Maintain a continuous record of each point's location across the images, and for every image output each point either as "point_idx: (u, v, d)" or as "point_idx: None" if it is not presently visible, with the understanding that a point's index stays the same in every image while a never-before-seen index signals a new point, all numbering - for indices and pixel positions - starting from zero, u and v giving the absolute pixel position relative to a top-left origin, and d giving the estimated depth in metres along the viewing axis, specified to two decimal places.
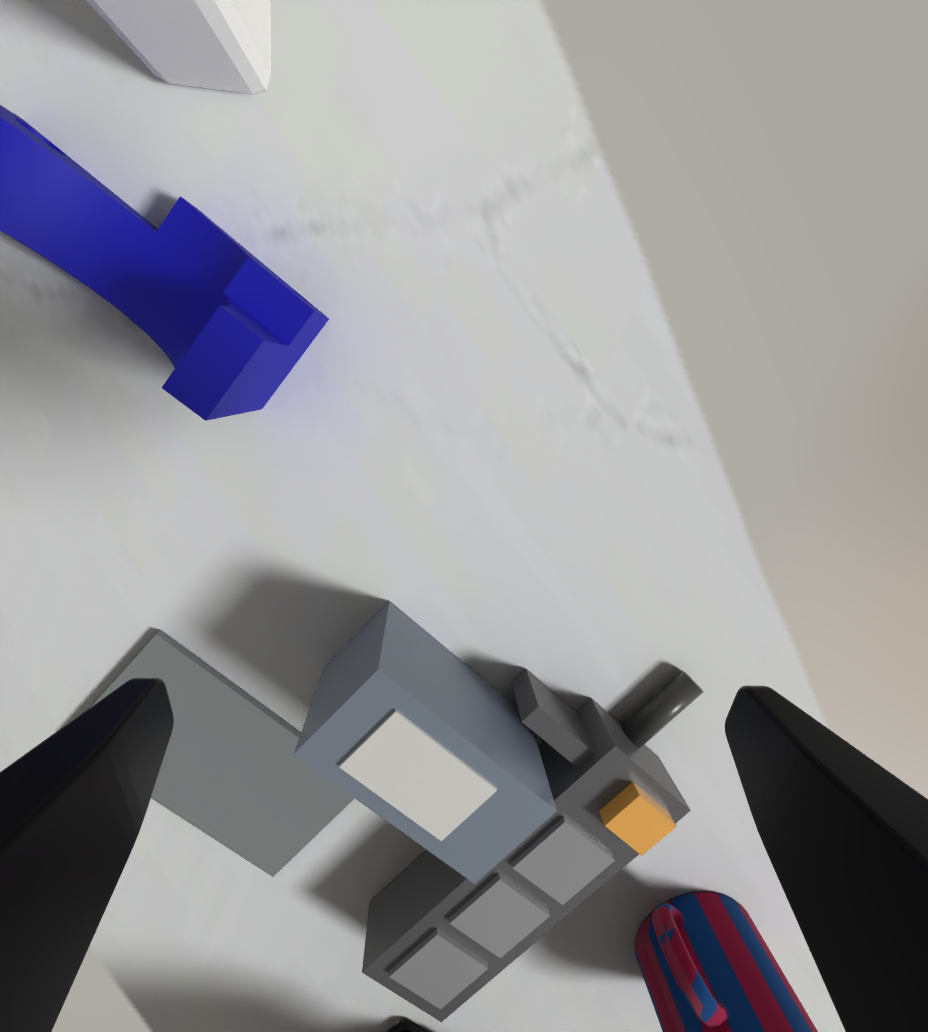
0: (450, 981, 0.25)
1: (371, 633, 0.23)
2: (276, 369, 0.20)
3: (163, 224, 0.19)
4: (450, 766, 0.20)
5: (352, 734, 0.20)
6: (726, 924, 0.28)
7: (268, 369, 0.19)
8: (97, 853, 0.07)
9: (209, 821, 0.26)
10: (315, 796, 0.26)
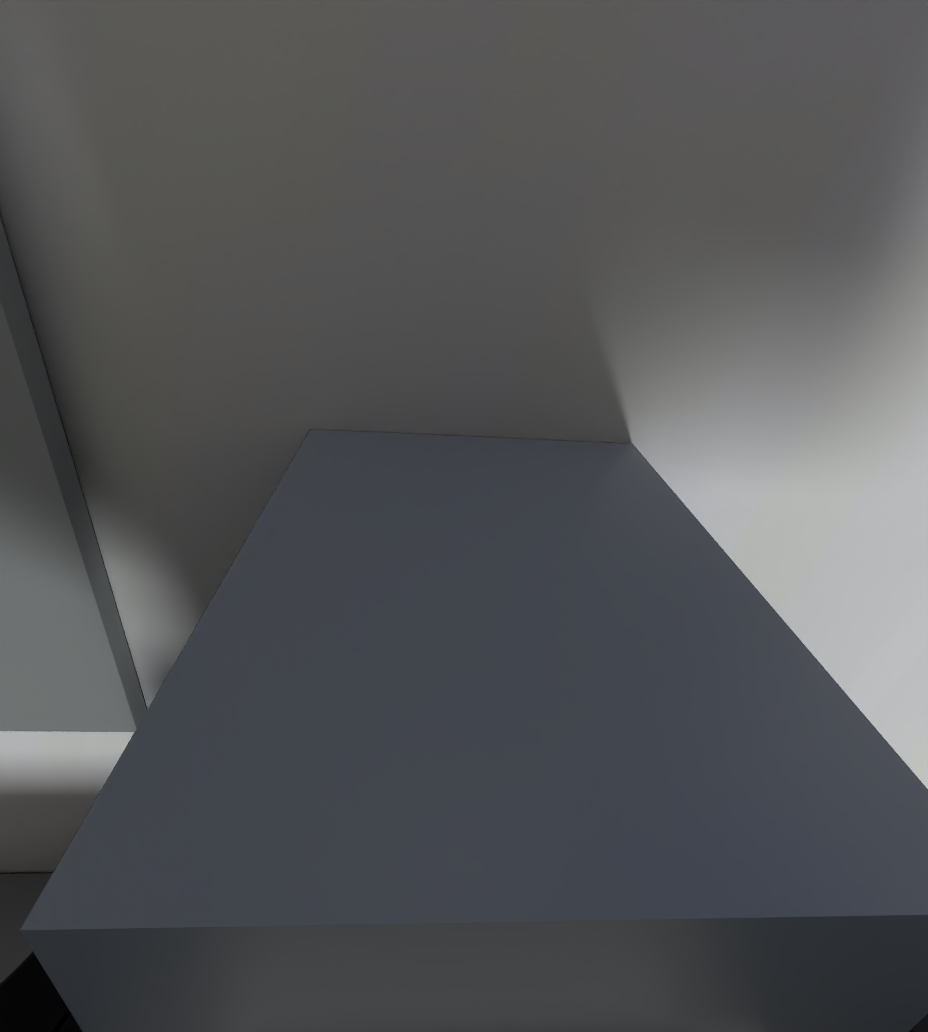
0: None
1: (601, 501, 0.06)
2: None
3: None
4: None
5: (481, 1021, 0.03)
6: None
7: None
8: None
9: None
10: None
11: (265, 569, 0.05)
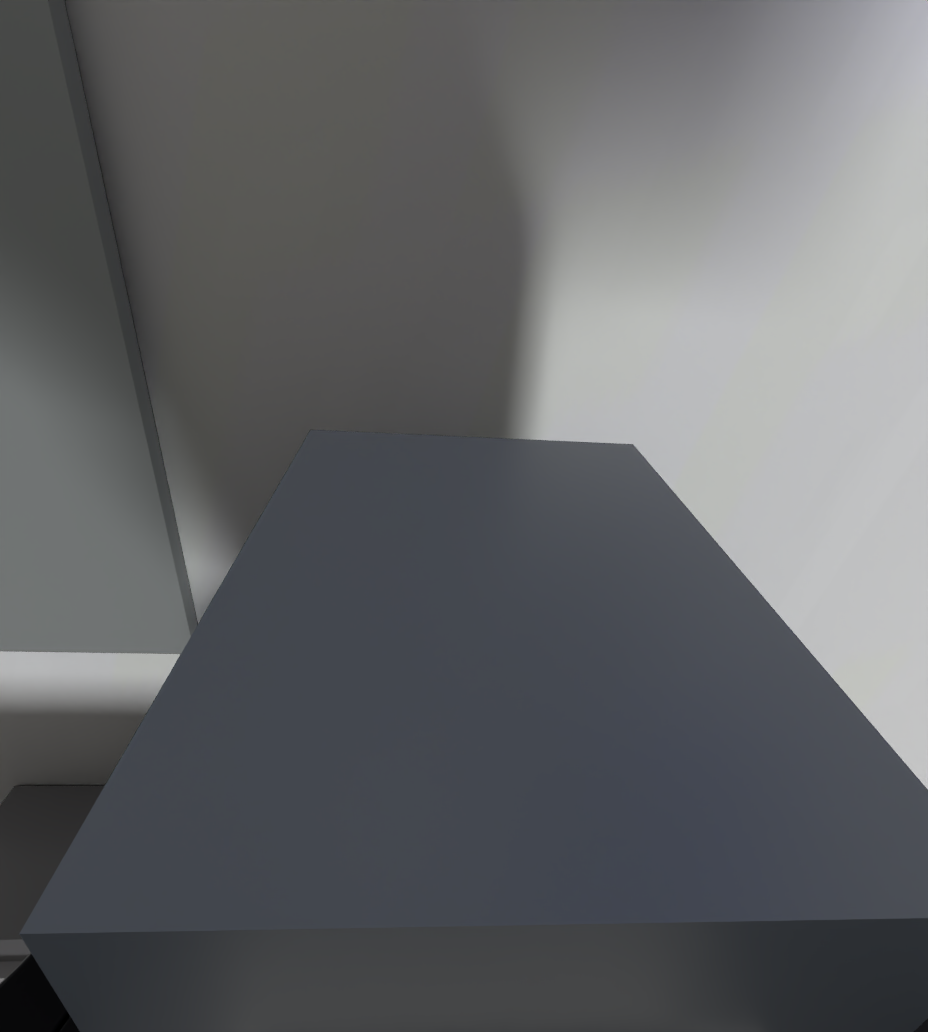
0: None
1: (601, 502, 0.06)
2: None
3: None
4: None
5: (481, 1025, 0.03)
6: None
7: None
8: None
9: None
10: (80, 596, 0.11)
11: (265, 570, 0.05)
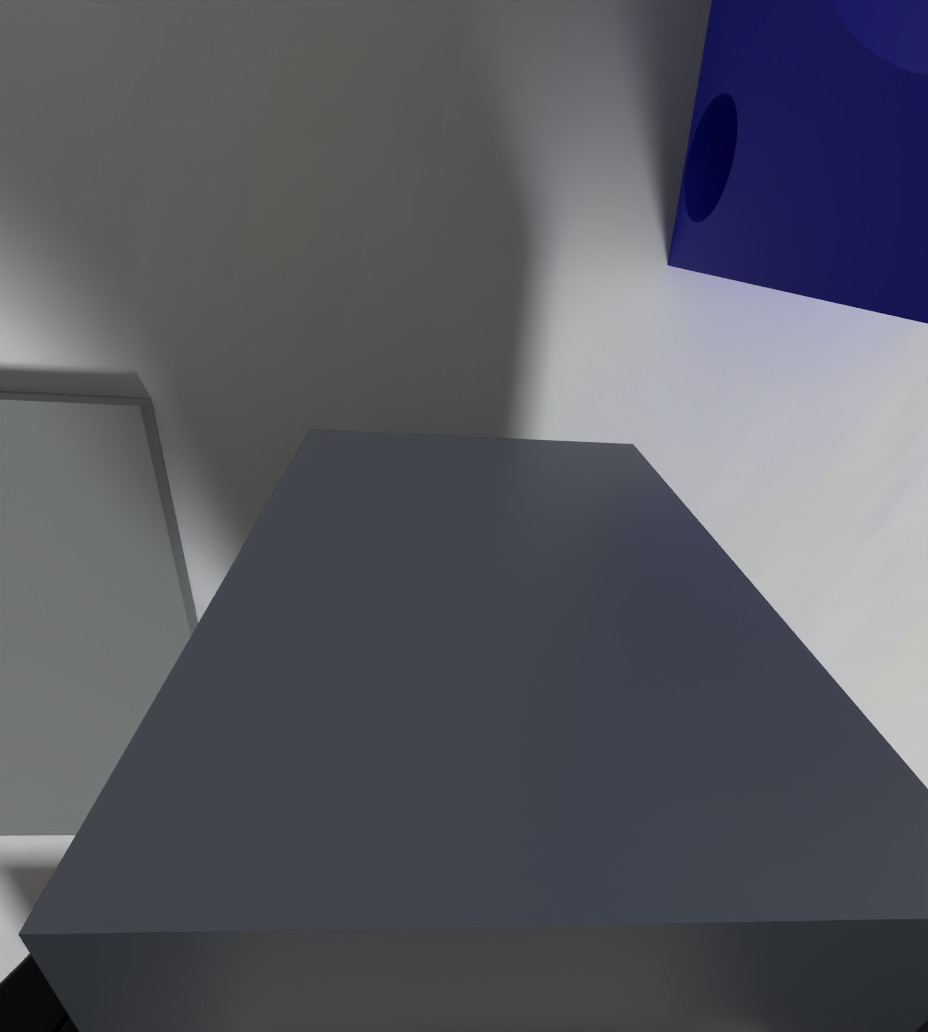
0: None
1: (602, 502, 0.06)
2: None
3: None
4: None
5: (483, 1027, 0.03)
6: None
7: None
8: None
9: None
10: None
11: (265, 570, 0.05)
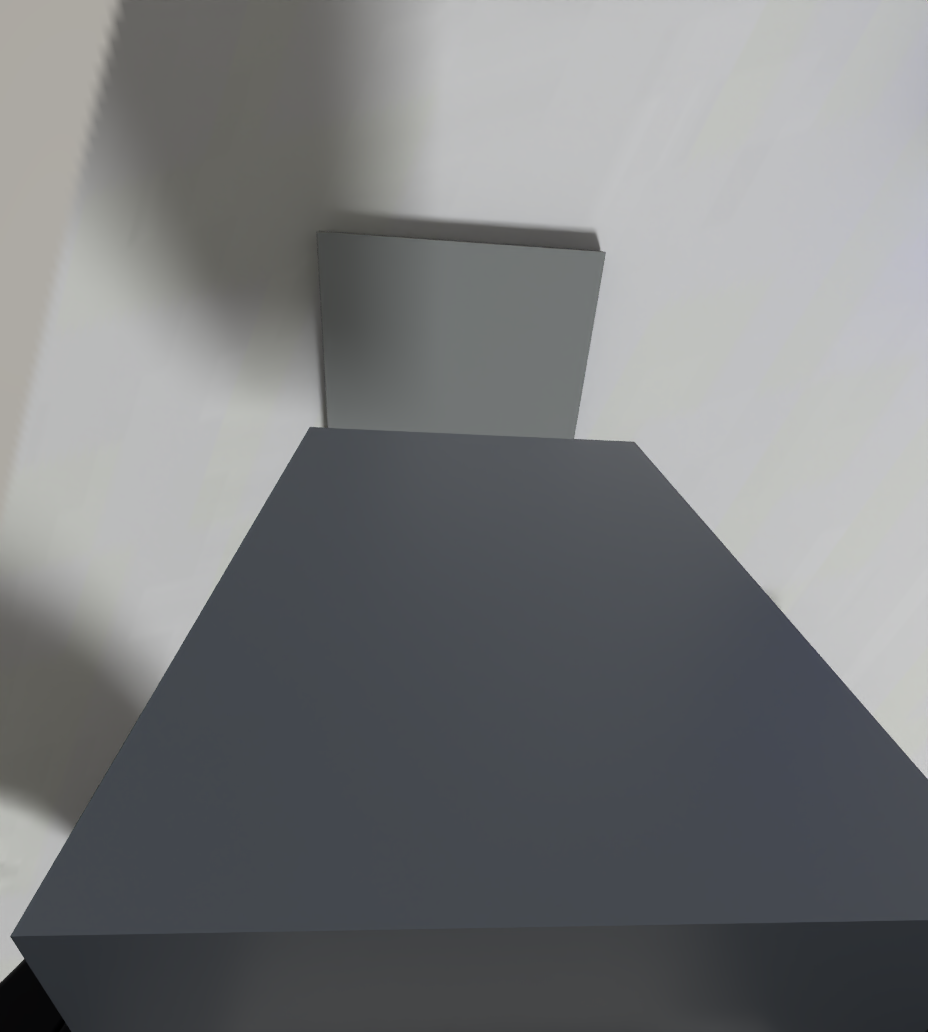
0: None
1: (603, 499, 0.06)
2: None
3: None
4: None
5: (483, 1030, 0.03)
6: None
7: None
8: None
9: None
10: None
11: (264, 567, 0.05)
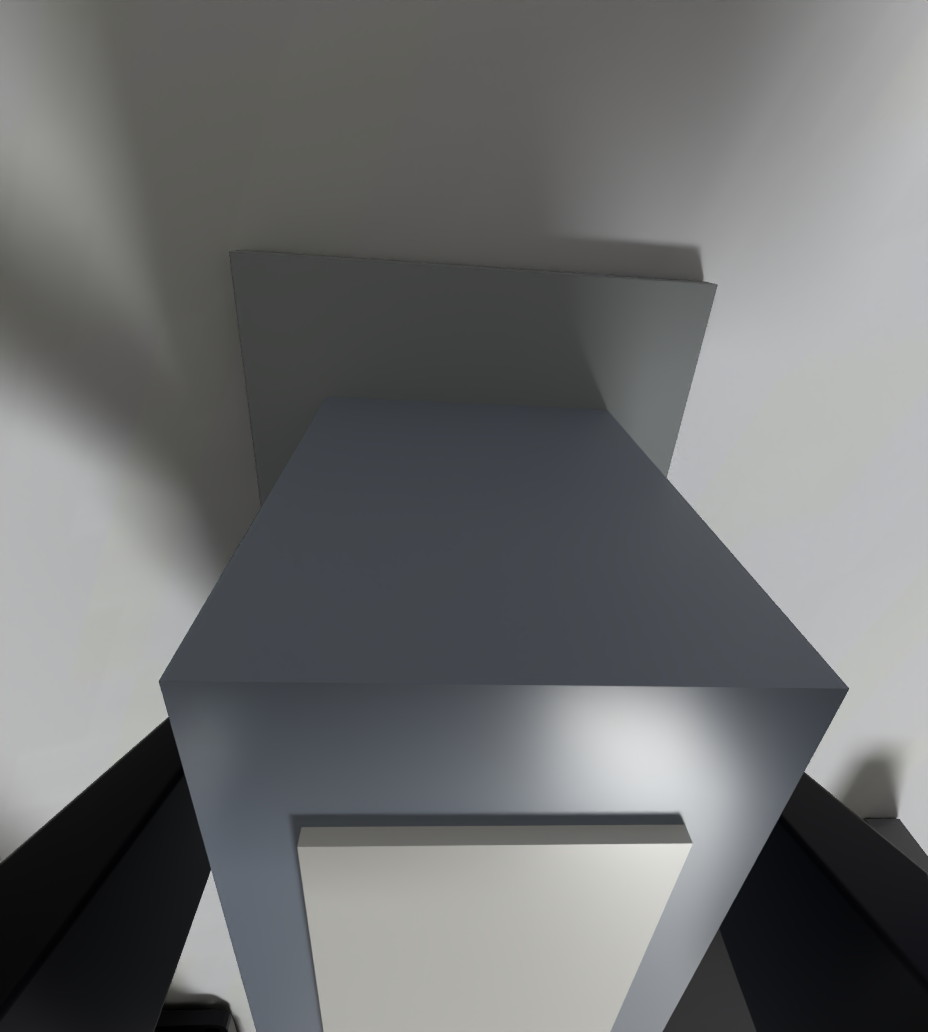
0: None
1: (574, 451, 0.07)
2: None
3: None
4: (583, 1016, 0.06)
5: (468, 785, 0.04)
6: None
7: None
8: (193, 852, 0.07)
9: None
10: None
11: (299, 493, 0.06)
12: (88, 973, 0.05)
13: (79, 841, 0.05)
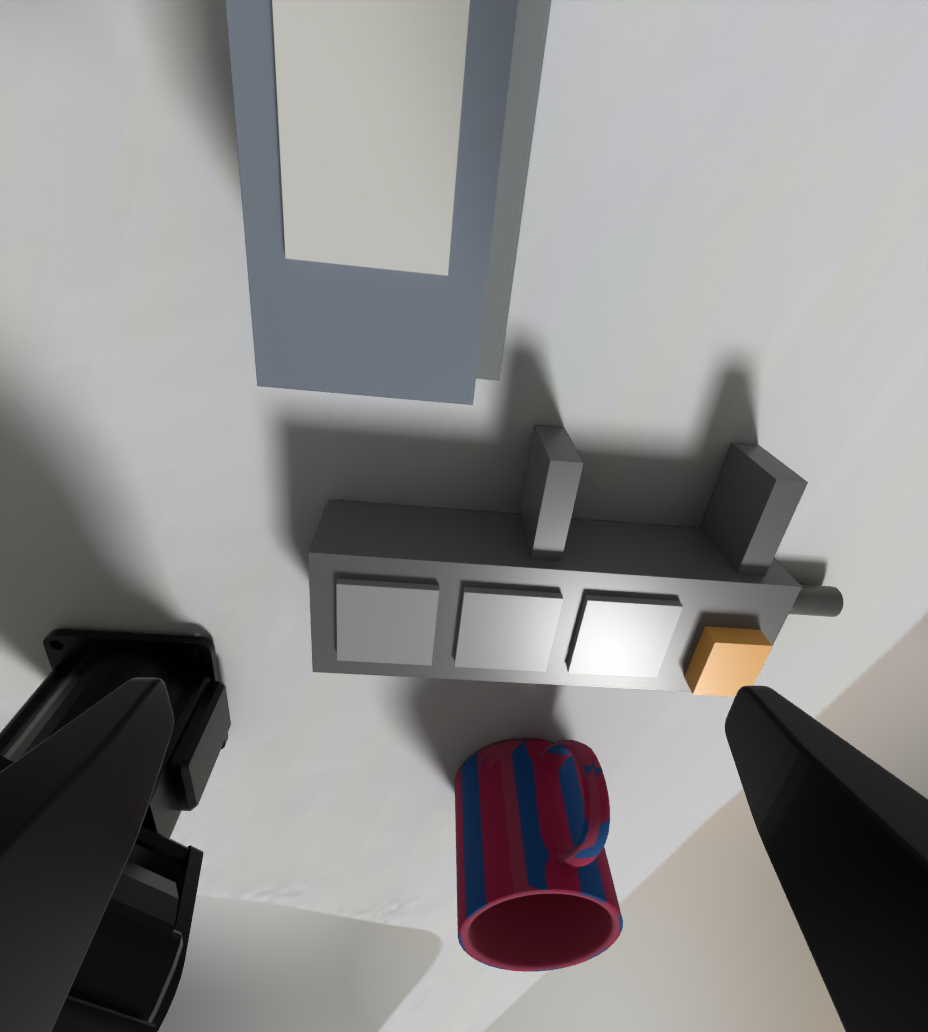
0: (384, 644, 0.18)
1: None
2: None
3: None
4: (436, 145, 0.09)
5: None
6: None
7: None
8: (97, 853, 0.07)
9: None
10: None
11: None
12: None
13: None
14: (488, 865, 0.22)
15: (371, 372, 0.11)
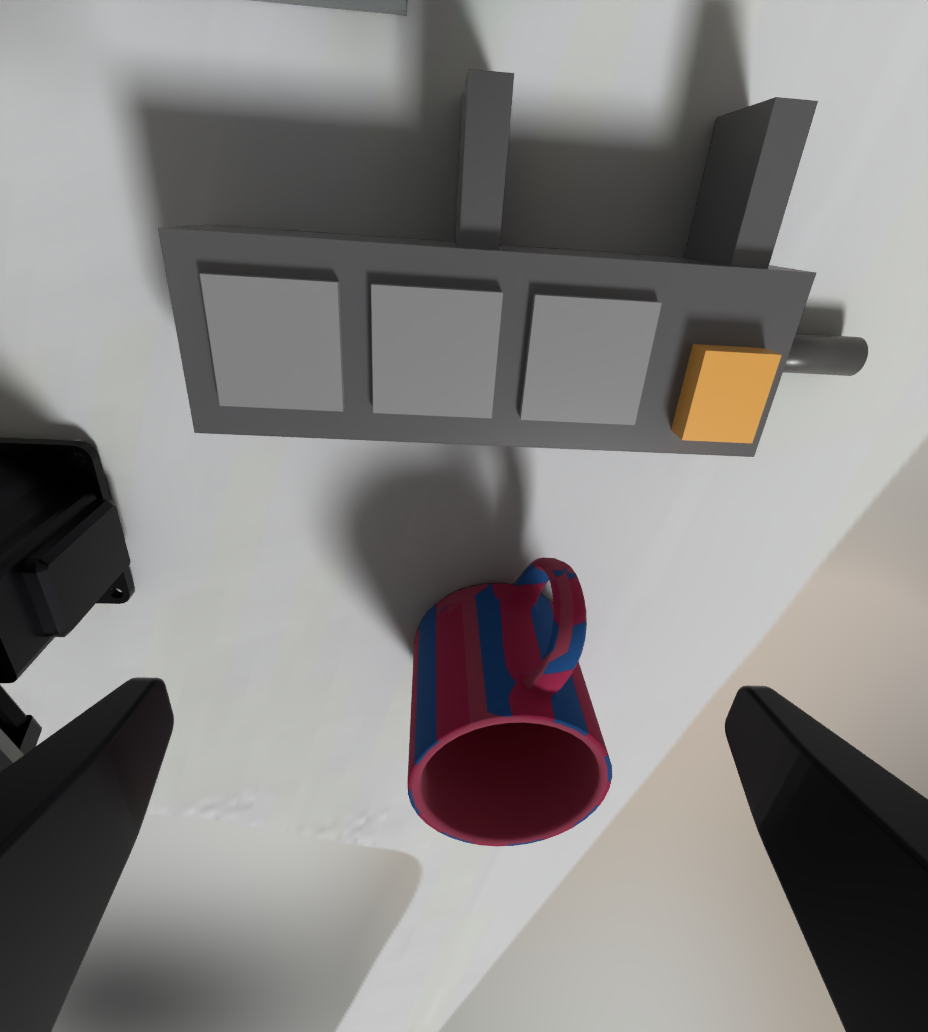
0: (277, 377, 0.14)
1: None
2: None
3: None
4: None
5: None
6: None
7: None
8: (97, 853, 0.07)
9: None
10: None
11: None
12: None
13: None
14: (441, 702, 0.18)
15: None
